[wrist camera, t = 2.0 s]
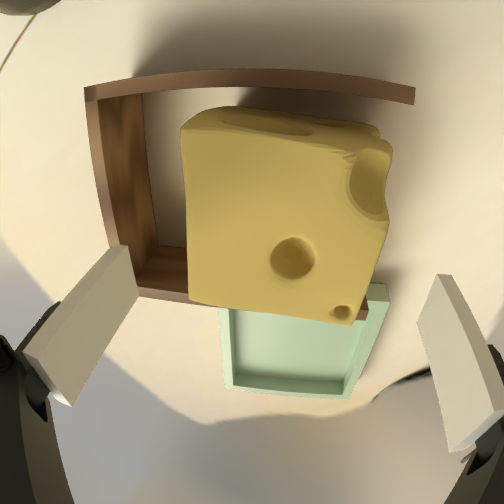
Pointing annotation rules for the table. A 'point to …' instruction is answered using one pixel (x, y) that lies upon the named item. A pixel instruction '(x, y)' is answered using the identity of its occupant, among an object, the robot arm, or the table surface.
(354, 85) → the cubby
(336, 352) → the tray
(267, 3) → the table surface
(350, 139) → the cheese
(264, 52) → the table surface
